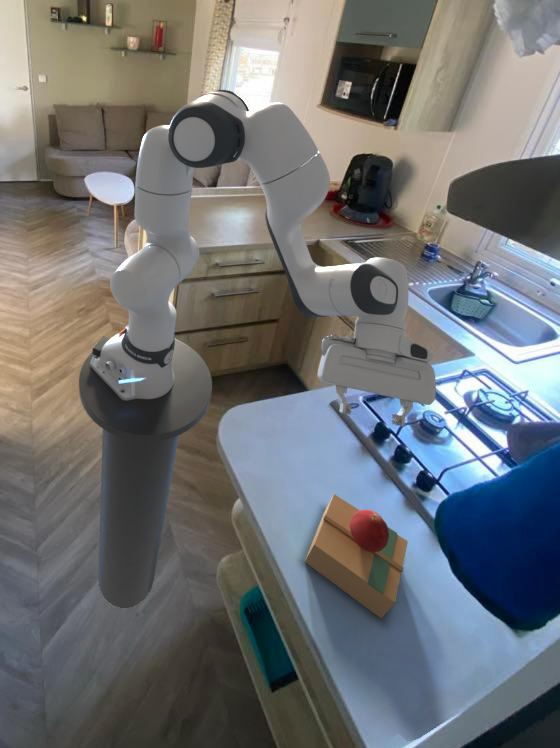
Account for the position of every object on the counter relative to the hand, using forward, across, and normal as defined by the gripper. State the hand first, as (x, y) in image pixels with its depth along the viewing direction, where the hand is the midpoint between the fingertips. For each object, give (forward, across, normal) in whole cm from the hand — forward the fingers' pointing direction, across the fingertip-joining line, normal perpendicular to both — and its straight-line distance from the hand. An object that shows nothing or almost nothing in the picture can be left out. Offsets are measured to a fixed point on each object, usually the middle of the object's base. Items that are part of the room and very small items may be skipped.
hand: (371, 419), depth 77 cm
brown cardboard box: (+24, 0, +4) cm, 25 cm away
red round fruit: (+20, 0, 0) cm, 20 cm away
